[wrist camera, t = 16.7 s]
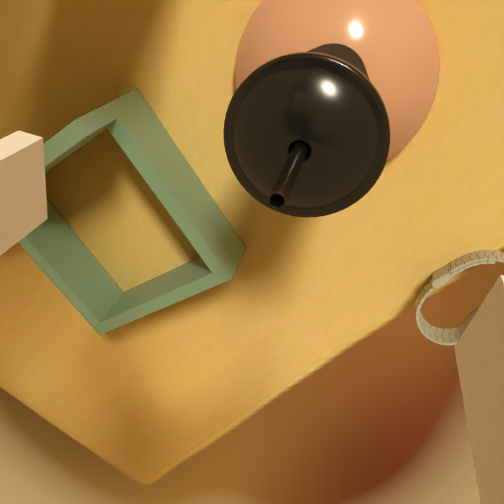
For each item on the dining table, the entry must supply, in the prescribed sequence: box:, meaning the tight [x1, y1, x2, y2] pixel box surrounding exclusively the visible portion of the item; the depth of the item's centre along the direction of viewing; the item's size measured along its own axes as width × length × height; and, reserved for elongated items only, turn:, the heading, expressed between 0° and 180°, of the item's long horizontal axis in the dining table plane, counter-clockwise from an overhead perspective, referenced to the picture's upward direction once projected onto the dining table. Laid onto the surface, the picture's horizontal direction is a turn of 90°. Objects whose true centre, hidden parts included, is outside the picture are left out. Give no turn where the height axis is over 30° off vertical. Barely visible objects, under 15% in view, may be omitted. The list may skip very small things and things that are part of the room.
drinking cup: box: [224, 43, 390, 217], centre depth 25 cm, size 8×8×20 cm
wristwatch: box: [416, 250, 504, 345], centre depth 38 cm, size 9×6×5 cm
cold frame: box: [18, 88, 247, 335], centre depth 41 cm, size 16×16×9 cm
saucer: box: [235, 0, 440, 160], centre depth 33 cm, size 14×14×1 cm
